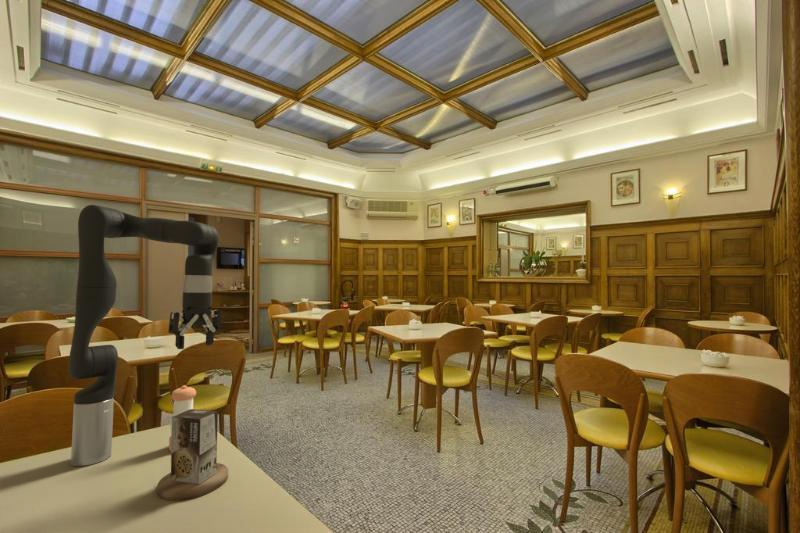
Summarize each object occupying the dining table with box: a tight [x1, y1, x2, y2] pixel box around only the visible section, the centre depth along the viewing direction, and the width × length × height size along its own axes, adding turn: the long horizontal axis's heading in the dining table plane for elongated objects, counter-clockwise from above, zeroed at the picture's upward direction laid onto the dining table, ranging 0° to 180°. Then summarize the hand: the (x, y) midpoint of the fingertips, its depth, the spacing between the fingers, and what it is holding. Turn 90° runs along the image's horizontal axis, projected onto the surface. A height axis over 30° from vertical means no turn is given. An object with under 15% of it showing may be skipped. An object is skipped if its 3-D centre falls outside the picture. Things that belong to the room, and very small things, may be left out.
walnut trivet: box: [156, 462, 229, 501], centre depth 95 cm, size 16×16×2 cm
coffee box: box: [170, 408, 219, 484], centre depth 96 cm, size 9×6×16 cm
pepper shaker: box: [168, 384, 197, 452], centre depth 118 cm, size 7×7×19 cm
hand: (195, 346), depth 107 cm, fingers open, 8 cm apart
